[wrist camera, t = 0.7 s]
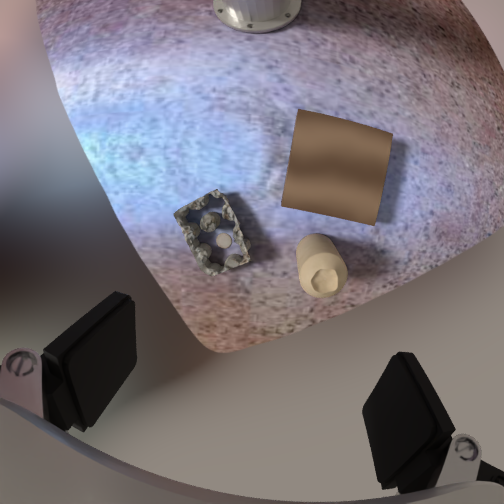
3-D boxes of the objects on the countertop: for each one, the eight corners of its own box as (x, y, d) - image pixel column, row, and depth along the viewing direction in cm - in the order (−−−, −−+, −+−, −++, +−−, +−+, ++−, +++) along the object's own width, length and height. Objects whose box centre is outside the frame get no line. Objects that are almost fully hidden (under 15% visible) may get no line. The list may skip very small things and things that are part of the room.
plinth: (296, 114, 32) (298, 108, 28) (381, 136, 32) (392, 133, 28) (281, 201, 36) (281, 206, 32) (365, 219, 36) (374, 226, 32)
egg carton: (257, 254, 39) (254, 264, 35) (211, 271, 41) (204, 283, 37) (226, 184, 36) (219, 187, 33) (179, 206, 38) (168, 212, 34)
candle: (313, 224, 37) (323, 246, 27) (342, 249, 37) (360, 277, 28) (288, 254, 38) (289, 285, 29) (317, 277, 39) (326, 312, 30)
